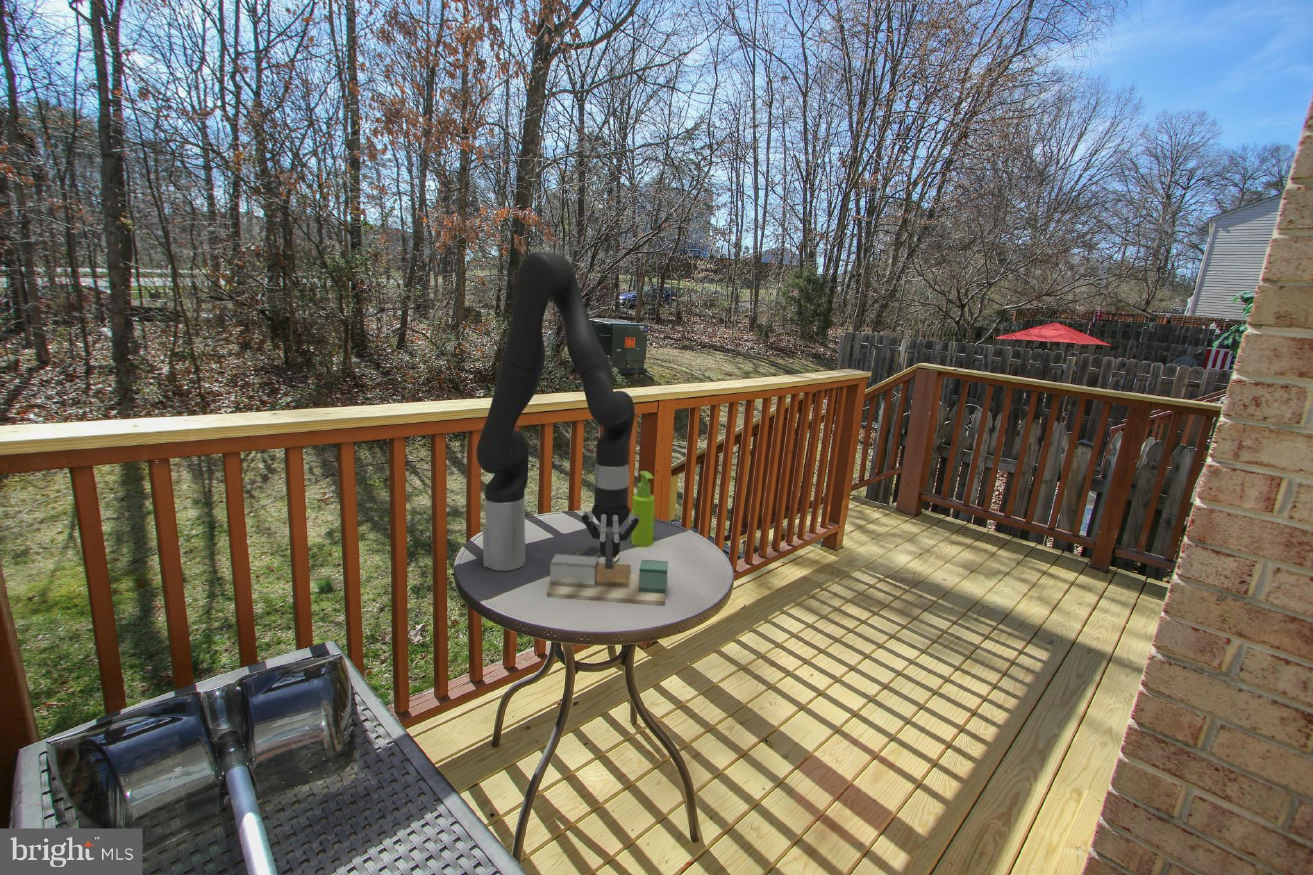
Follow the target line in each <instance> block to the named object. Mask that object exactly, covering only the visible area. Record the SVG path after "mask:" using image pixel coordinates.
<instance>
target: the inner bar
mask: <svg viewBox="0 0 1313 875" xmlns="http://www.w3.org/2000/svg"><path fill="white" fill-rule="evenodd" d="M613 541H614V533H613V532H608V531H607V536H606V545H605V557H604V560H605V561H604V562H597V564H596V567H595V580H597V581H611V582H625V583H629V581H630V577H631V574H632V564H626V563H615V558H613ZM549 577H550V578H551V563H550V565H549Z"/></svg>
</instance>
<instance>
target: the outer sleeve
mask: <svg viewBox="0 0 1313 875" xmlns="http://www.w3.org/2000/svg"><path fill="white" fill-rule="evenodd" d="M599 557H600V556H599V555H598V556H597V555H595V556H594V555H580V554H568V553H566V554H565V553H555V554H554V556H553V557H552V560H551V561H550V564H551V577H550V586H551V585H553V586H567V587H580V588H595V586H596V583H597V580H595V567H596V564H597V562H599ZM599 563H600V562H599Z"/></svg>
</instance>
